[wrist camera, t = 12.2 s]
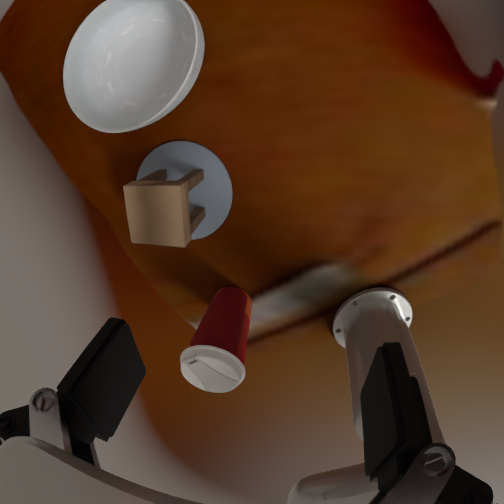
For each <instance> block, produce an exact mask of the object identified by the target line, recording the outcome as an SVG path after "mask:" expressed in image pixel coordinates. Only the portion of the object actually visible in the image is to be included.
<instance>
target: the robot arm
mask: <svg viewBox="0 0 504 504" xmlns="http://www.w3.org/2000/svg"><path fill="white" fill-rule="evenodd" d="M411 321H412V308H411V305H410V303H409V301H408V300H407V298H406V297H405V296H404V295H403V294H402V293H401V292H399V291H397V290H394V289H391V288H384V287H378V288H371V289H367V290H364V291H361V292H359V293H357V294H355V295H353V296H351V297H350V298H349V299H347V300H346V301H345V302H344V303H343V304H342V305H341V306H340V307H339V309H338V310H337V312H336V314H335V316H334V319H333V333H334V337H335V339H336V340H337V342H338V343H339V344H340V345H341V346H342V347H344V348H345V349H346V354H347V362H348V370H349V380H350V390H351V401H352V413H353V423H354V428H355V431H356V433H357V435H358V436H359V437H360V439H361V440H362V441H363V442H364V459H365V462H363V463H359V464H355V465H351V466H347V467H343V468H338V469H333V470H329V471H325V472H319V473H315V474H312V475H309V476H306V477H304V478H302V479H301V480H299V481H298V482H297V483H296V484H295V485H294V486H293V488H292V490H291V491H290V493H289V497H288V501H287V504H493V503H492V501H493V491H492V489H491V487H490V486H489V485H488V484H487V483H485V482H483V481H481V480H480V479H478V478H476V477H475V476H473V475H471V474H469V473H468V472H466V471H465V470H463V469H461V468H460V467H458V466H456V465H455V464H456V457H455V454H454V452H453V450H452V449H451V448H450V447H449V446H448V445H447V444H446V442H445V439H444V436H443V433H442V430H441V428H440V425H439V421H438V418H437V415H436V411H435V408H434V405H433V401H432V398H431V394H430V391H429V388H428V384H427V381H426V378H425V375H424V372H423V368H422V365H421V362H420V359H419V356H418V353H417V350H416V347H415V345H414V342H413V339H412V336H411V334H410V331H409V326H410V324H411ZM145 373H146V369H145V366H144V364H143V361H142V359H141V356H140V354H139V351H138V349H137V346H136V343H135V341H134V338H133V335H132V333H131V330H130V327H129V325H128V324H126V322H125V320H122V319H117V318H109V319H108V320H107V322H106V323H105V324H104V326H103V327H102V328H101V329H100V330H99V332H98V333H97V334H96V336H95V337H94V338H93V340H92V341H91V342H90V343H89V345H88V346H87V347H86V348H85V350H84V351H83V353H82V354H81V355H80V356H79V358H78V359H77V360H76V362H75V363H74V364H73V366H72V367H71V368H70V370H69V371H68V372H67V374H66V375H65V377H64V378H63V379H62V381H61V382H60V384H59V385H58V386H57V389H58V391H57V392H55V391H54V390H53V389H51V388H42V389H39V390H37V391H36V392H35V393H34V394H33V395H32V397H31V399H30V403H29V405H26V406H23V407H20V408H16V409H12V410H9V411H6V412H3V413H2V414H0V504H202V503H197V502H193V501H189V500H186V499H182V498H178V497H175V496H171V495H168V494H164V493H162V492H158V491H155V490H152V489H149V488H146V487H144V486H141V485H138V484H136V483H133V482H130V481H128V480H125V479H123V478H120V477H118V476H115V475H113V474H111V473H109V472H106V471H104V470H102V469H101V467H100V464H99V461H98V457H97V453H96V450H95V446H94V442H93V441H94V439H95V437H97V438H99V439H102V440H104V441H106V442H107V441H108V438H109V437H112V436H113V435H114V433H115V431H116V429H117V427H118V425H119V423H120V421H121V419H122V417H123V415H124V414H125V412H126V410H127V408H128V406H129V404H130V402H131V400H132V398H133V397H134V395H135V393H136V391H137V389H138V387H139V385H140V384H141V382H142V380H143V378H144V376H145Z"/></svg>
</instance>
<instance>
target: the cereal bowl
mask: <svg viewBox="0 0 504 504" xmlns="http://www.w3.org/2000/svg"><path fill="white" fill-rule="evenodd" d="M204 44H205V43H204V35H203V31H202V27H201V24H200V22H199V20H198V17H197V16H196V14H195V12H194V11H193V10H192V8H191V7H190V6H189V5H188V4H187V3H186V2H185V1H184V0H106V1H105V2H103V3H102V4H100V5H99V6H98V7H97V8H95V9H94V10H93V11H92V12H91V13H90V14H89V15H88V16H87V18H86V19H85V20H84V21H83V22H82V24H81V25H80V27H79V28H78V29H77V31H76V33H75V35H74V36H73V38H72V40H71V43H70V45H69V47H68V50H67V53H66V57H65V62H64V69H63V84H64V91H65V95H66V98H67V101H68V103H69V105H70V107H71V109H72V110H73V112H74V113H75V115H76V116H77V117H78V118H79V119H80V120H81V121H82V122H83V123H85V124H86V125H88V126H89V127H91V128H93V129H96V130H98V131H102V132H107V133H122V132H128V131H132V130H136V129H139V128H142V127H144V126H147V125H149V124H151V123H153V122H155V121H157V120H159V119H161V118H162V117H164V116H165V115H167V114H168V113H169V112H171V111H172V110H173V109H174V108H175V107H176V106H178V104H179V103H180V102H181V101H182V100H183V99H184V98H185V96H186V95H187V94H188V92H189V91H190V90H191V88H192V87H193V85H194V83H195V81H196V79H197V77H198V74H199V72H200V68H201V65H202V61H203V56H204V48H205V47H204Z"/></svg>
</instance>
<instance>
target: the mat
mask: <svg viewBox="0 0 504 504" xmlns="http://www.w3.org/2000/svg"><path fill="white" fill-rule="evenodd" d="M166 169H167V179H166V180H179V179H180V178H182V177H183V176H185V175H186V174H188V173H189V172H191V171H192V170H194V169H204V180H202V181H201V182H200V183H199V184H198V185H196V186H195V187H194V188H193V189H192V190H191V191H189V192H188V195H189V211H190V213H191V212H192V211H193V210H194V208H195V207H205V218H204V219H203V220H202V222H201V223H200V224H199V225H198V227H197V228H196V229H195V231H194V232H193V233H192V235H191V237H192V239H191V240H194V239H199V238H203V237H205V236H208V235H209V234H211V233H213V232H214V231H215V230H217V229H218V228H219V227H220V226H221V225H222V223H223V222H224V221H225V219H226V217H227V215H228V213H229V211H230V208H231V204H232V197H233V191H232V183H231V179H230V176H229V173H228V171H227V169H226V167H225V166H224V164H223V163H222V161H221V160H220V159H219V158H218V157H217V156H216V155H215V154H214V153H213V152H212V151H210V150H209V149H207V148H206V147H204V146H202V145H200V144H197V143H194V142H189V141H173V142H169V143H166V144H163V145H161V146H159V147H157V148H156V149H154V150H153V151H152V152H150V153H149V154H148V156H147V157H146V158H145V159H144V161H143V162H142V164H141V166H140V168H139V171H138V174H137V179H136V181H138V180H140V179H142V178H144V177H145V176H147V175H149V174H151V173H153V172H155V171H157V170H166Z"/></svg>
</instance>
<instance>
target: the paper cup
mask: <svg viewBox="0 0 504 504" xmlns="http://www.w3.org/2000/svg"><path fill="white" fill-rule="evenodd" d="M251 307H252V302H251V298H250V296H249V295H248V294H247V293H246V292H245V291H244V290H242V289H240V288H238V287H233V286H228V287H223V288H221V289H220V290H219V291H218V292H217V293H216V294H215V296H214V298H213V300H212V301H211V303H210V305H209V307H208V309H207V311H206V313H205V315H204V317H203V319H202V320H201V322H200V324H199V326H198V328H197V330H196V332H195V334H194V336H193V338H192V340H191V342H190V344H189V346H188V348H187V349H185V350H184V351H183V352H182V354H181V356H180V362H181V371H182V374H183V376H184V377H185V378H186V379H187V381H189V382H190V383H191V384H192V385H194V386H196V387H198V388H200V389H202V390H205V391H210V392H217V393H222V392H228V391H231V390H233V389H234V388H236V387H237V386H238V385H239V384H240V383H241V382H242V380H243V379H244V377H245V368H244V360H245V353H246V346H247V339H248V332H249V324H250V316H251Z"/></svg>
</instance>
